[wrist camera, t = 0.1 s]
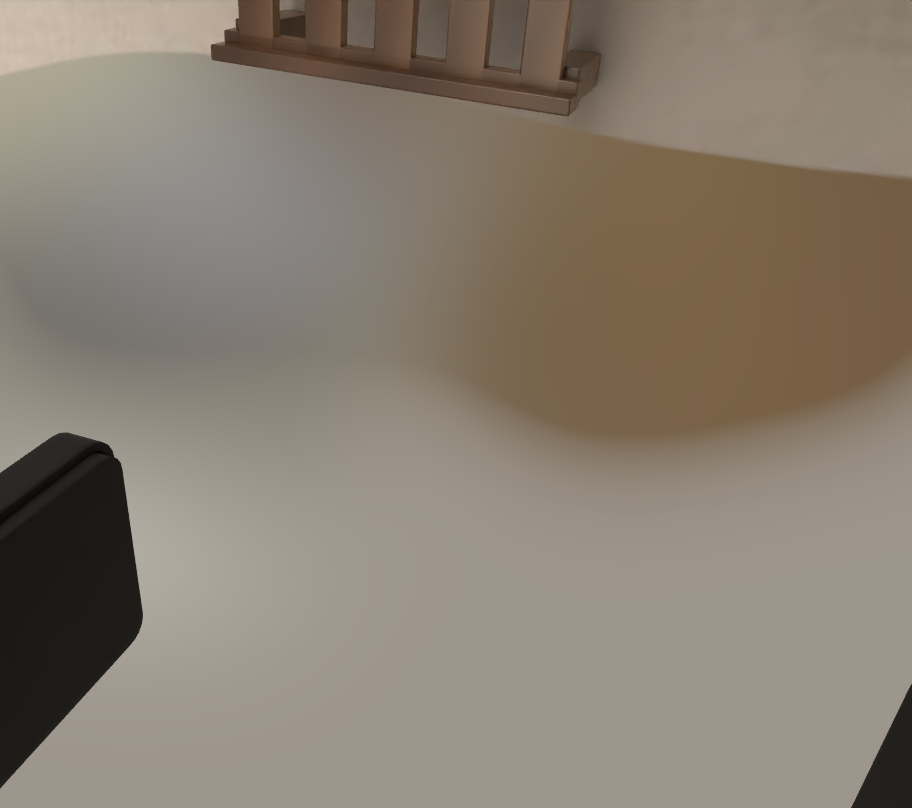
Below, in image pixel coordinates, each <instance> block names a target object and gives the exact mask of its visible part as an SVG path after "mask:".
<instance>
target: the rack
mask: <svg viewBox="0 0 912 808" xmlns="http://www.w3.org/2000/svg"><path fill="white" fill-rule="evenodd" d="M494 4H495V0H450V8H449V21H448V35H447V48H446V59H441V58H434V57H427V56H421V55H416V48H417V31H418V14H419V0H376V13H375V40H374V49H373V48H367V47H360V46H353V45H347V13H348V0H305V12H301V11H293V10H283V11H280V0H238V6H239V18H237V19H236V28H233V29H228V30H225V31H224V34H225V42H220V43H216V44H212V45H211V57H212V60H216V61H221V62H228V63H234V64H240V65H246V66H253V67H259V68H266V69H272V70H278V71H285V72H291V73H297V74H303V75H309V76H316V77H323V78H328V79H335V80H341V81H347V82H354V83H360V84H366V85H373V86H380V87H385V88H392V89H398V90H404V91H410V92H417V93H423V94H429V95H436V96H442V97H448V98H455V99H461V100H467V101H473V102H480V103H486V104H492V105H499V106H505V107H511V108H518V109H524V110H530V111H536V112H543V113H549V114H555V115H562V116H569V115H570V114H571V113H572V112H573V111H574V110H576V109H577V108H578V106H579V101H580V99H581V98H582V97H583V96H584V95H585V94H587V93H588V92H589V91H590V90H591V89H592V88H594V87H595V86H596V83H597V77H598V71H599V65H600V59H601V54H599V53H592V52H585V51H578V50H570V51H569V52H567V48H568V41H569V34H570V27H571V20H572V13H573V6H574V0H529V1H528V9H527V18H526V26H525V35H524V43H523V52H522V60H521V69H520V70H515V69H508V68H502V67H495V66H488V64H489V54H490V44H491V34H492V24H493V14H494Z"/></svg>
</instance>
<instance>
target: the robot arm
mask: <svg viewBox="0 0 912 808" xmlns="http://www.w3.org/2000/svg"><path fill="white" fill-rule="evenodd" d="M142 620H143V611H142V605H141V597H140V590H139V584H138V577H137V569H136V563H135V556H134V548H133V541H132V534H131V528H130V520H129V513H128V507H127V499H126V492H125V485H124V478H123V471H122V467H121V463H120V462H119V460H118V459H116V458H114V455H113V451H112V450H111V448H110V447H109V445H107V444H105V443H103V442H100V441H96V440H93V439H89V438H85V437H82V436H78V435H74V434H71V433H59V434H57V435H55V436H53V437H51V438H50V439H48V440H47V441H46V442H44V443H42V444H41V445H40V446H38V447H37V448H35V449H34V450H32V451H31V452H30V453H28V454H27V455H25V456H24V457H23V458H21V459H20V460H18V461H17V462H15V463H14V464H12V465H11V466H10V467H8V468H7V469H5V470H4V471H2V472H1V473H0V788H1V787H2V786H3V785H4V784H5V783H6V781H7V780H8V779H9V778H10V777H11V776H12V775H13V774H14V773H15V771H16V770H17V769H18V768H19V767H20V766H21V765H22V764H23V763H24V761H25V760H26V759H27V758H28V757H29V756H30V755H31V754H32V753H33V751H35V749H36V748H37V747H38V746H39V745H40V744H41V743H42V742H43V741H44V740H45V738H46V737H47V736H48V735H49V734H50V733H51V732H52V731H53V730H54V729H55V727H56V726H57V725H58V724H59V723H60V722H61V721H62V720H63V719H64V718H65V716H66V715H67V714H68V713H69V712H70V711H71V710H72V709H73V708H74V707H75V705H76V704H77V703H78V702H79V701H80V700H81V699H82V698H83V697H84V696H85V694H86V693H87V692H88V691H89V690H90V689H91V688H92V687H93V686H94V684H95V683H96V682H97V681H98V680H99V679H100V678H101V677H102V676H103V675H104V674H105V672H106V671H107V670H108V669H109V668H110V667H111V666H112V665H113V664H114V662H115V661H116V660H117V659H118V658H119V657H120V656H121V655H122V654H123V653H124V651H125V650H126V649H127V648H128V647H129V646H130V645H131V644H132V642H133V641H134V640H135V638H136V636H137V635H138V633H139V630H140V628H141V624H142ZM851 808H912V685H911V686H910V688H909V690H908V692H907V694H906V696H905V698H904V700H903V702H902V704H901V707H900V708H899V710H898V713H897V715H896V717H895V719H894V721H893V723H892V725H891V727H890V729H889V731H888V733H887V736H886V738H885V740H884V741H883V744H882V745H881V748H880V750H879V752H878V754H877V756H876V758H875V760H874V762H873V764H872V766H871V768H870V770H869V772H868V774H867V776H866V778H865V781H864V783H863V785H862V787H861V789H860V791H859V793H858V795H857V797H856V799H855V801H854V803H853V805H852V807H851Z"/></svg>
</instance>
